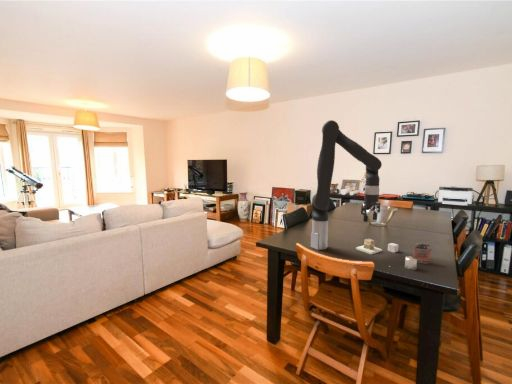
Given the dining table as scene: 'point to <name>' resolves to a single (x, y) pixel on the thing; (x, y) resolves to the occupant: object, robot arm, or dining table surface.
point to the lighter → (422, 253)
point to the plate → (369, 250)
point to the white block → (393, 247)
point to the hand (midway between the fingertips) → (370, 220)
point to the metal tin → (410, 263)
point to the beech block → (369, 244)
